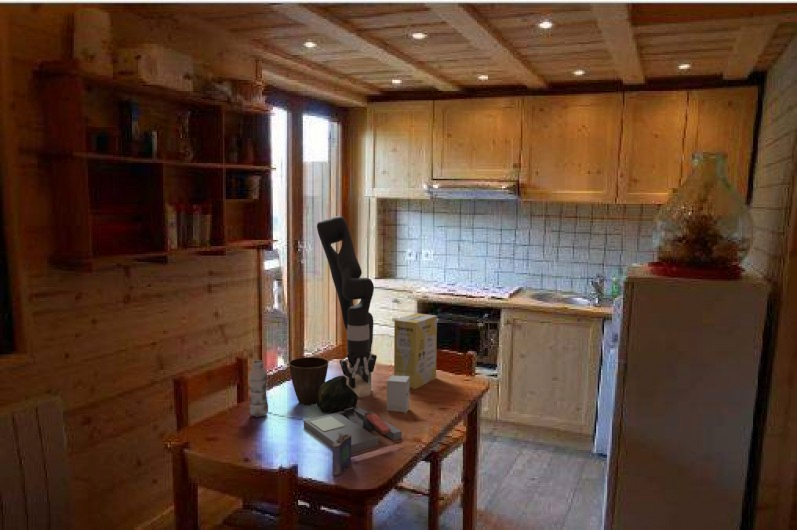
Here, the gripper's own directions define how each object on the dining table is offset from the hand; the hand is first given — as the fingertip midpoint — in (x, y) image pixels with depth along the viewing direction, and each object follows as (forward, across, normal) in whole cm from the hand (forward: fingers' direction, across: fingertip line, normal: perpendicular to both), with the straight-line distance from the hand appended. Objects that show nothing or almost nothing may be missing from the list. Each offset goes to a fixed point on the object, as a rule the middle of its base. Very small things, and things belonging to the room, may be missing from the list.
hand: (358, 386), depth 191 cm
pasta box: (+16, +48, +30) cm, 59 cm away
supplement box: (+16, +20, +5) cm, 26 cm away
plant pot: (+15, -2, +33) cm, 36 cm away
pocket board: (+15, -6, -4) cm, 17 cm away
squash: (+15, +2, +18) cm, 23 cm away
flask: (+15, -20, -22) cm, 33 cm away
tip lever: (+14, -1, -5) cm, 15 cm away
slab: (+1, 0, 0) cm, 1 cm away
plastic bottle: (+15, -23, +31) cm, 41 cm away
